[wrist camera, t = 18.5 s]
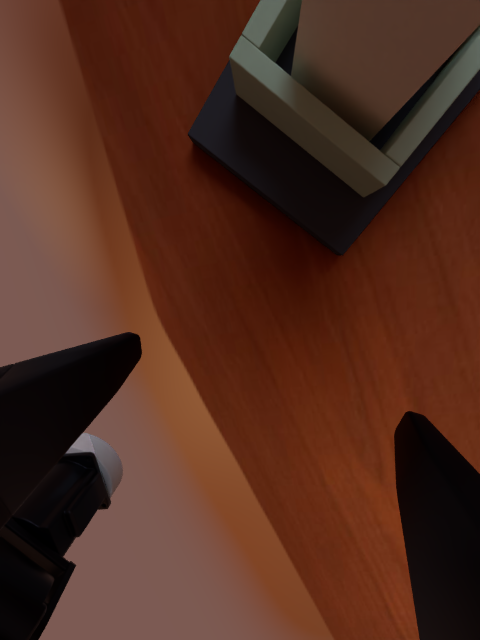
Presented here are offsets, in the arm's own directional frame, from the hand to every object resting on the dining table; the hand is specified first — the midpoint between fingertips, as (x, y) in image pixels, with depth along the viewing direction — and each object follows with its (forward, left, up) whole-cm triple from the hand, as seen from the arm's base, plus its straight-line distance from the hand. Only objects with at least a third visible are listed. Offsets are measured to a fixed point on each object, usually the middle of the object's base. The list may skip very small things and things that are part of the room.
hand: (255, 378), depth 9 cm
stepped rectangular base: (+7, +13, -11) cm, 18 cm away
